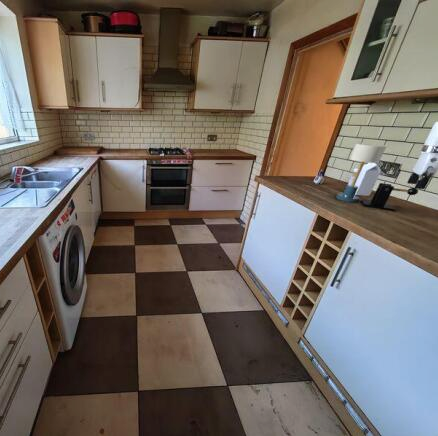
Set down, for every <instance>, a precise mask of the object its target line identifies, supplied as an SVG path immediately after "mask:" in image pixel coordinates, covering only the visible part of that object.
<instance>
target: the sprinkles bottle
mask: <svg viewBox="0 0 438 436" xmlns="http://www.w3.org/2000/svg"><path fill="white" fill-rule="evenodd" d="M358 168H359V167H358ZM358 168H357V167H356V168H355V167H354V169H353V172H352V175H351V176H350V179H349V181H348V184H347V185H352V182H353V180H354V178H355V175H356V173H357V171H358Z"/></svg>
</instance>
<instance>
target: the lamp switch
mask: <svg viewBox="0 0 438 436" xmlns="http://www.w3.org/2000/svg"><path fill="white" fill-rule="evenodd" d="M392 191H395V192H403V193H407V195H409V196H416V195H417V194H418V193H419V189H417V188H415V187H409V188H408V189H405V188H396V187H394V188H393V190H392Z"/></svg>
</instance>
